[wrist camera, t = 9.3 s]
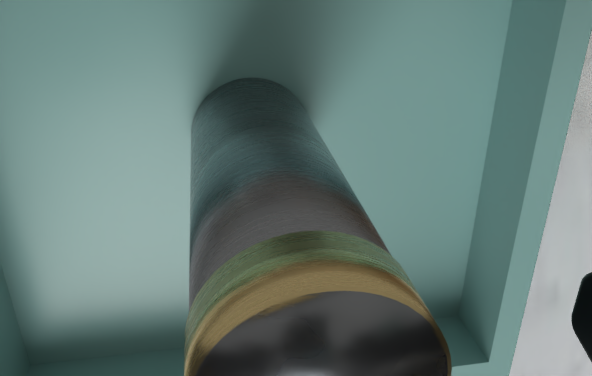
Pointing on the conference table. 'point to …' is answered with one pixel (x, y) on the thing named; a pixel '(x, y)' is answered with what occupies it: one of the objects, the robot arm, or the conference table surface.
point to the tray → (328, 121)
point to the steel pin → (290, 254)
